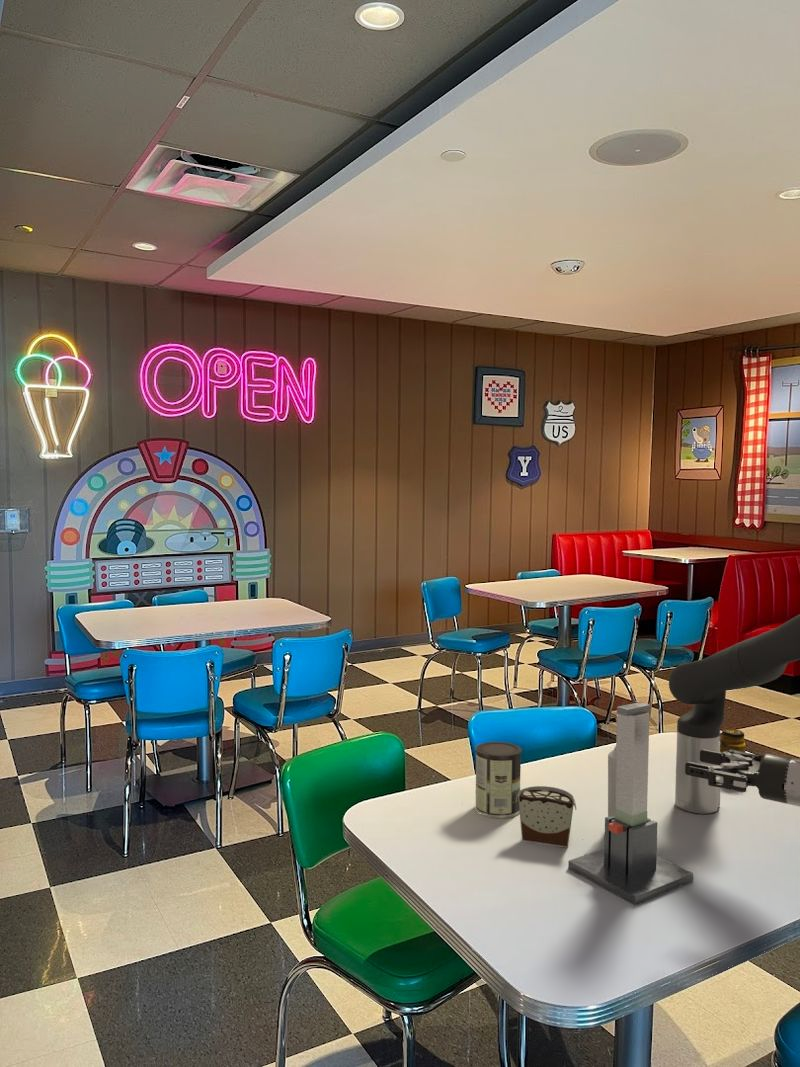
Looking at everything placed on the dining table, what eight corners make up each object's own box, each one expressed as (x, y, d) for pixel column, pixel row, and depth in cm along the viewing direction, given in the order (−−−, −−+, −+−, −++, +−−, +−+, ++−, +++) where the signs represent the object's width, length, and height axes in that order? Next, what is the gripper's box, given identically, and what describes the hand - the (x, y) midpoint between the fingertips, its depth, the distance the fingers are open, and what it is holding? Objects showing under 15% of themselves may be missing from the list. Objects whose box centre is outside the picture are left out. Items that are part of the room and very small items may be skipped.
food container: (579, 836, 166) (579, 789, 165) (575, 849, 160) (576, 800, 159) (520, 828, 170) (521, 782, 169) (514, 839, 164) (515, 792, 163)
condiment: (750, 778, 201) (752, 731, 200) (736, 786, 195) (738, 738, 194) (722, 770, 206) (723, 725, 206) (708, 778, 200) (709, 732, 200)
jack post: (633, 820, 152) (636, 701, 151) (651, 828, 149) (654, 705, 147) (610, 827, 149) (613, 705, 147) (627, 835, 145) (630, 710, 144)
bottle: (632, 838, 165) (635, 719, 164) (607, 836, 166) (609, 718, 165) (630, 828, 170) (633, 713, 169) (605, 825, 171) (608, 711, 170)
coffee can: (503, 798, 186) (504, 738, 186) (529, 814, 177) (530, 751, 176) (466, 805, 182) (466, 744, 181) (490, 822, 172) (491, 758, 172)
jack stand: (625, 848, 160) (626, 797, 160) (693, 881, 147) (694, 825, 146) (568, 868, 151) (569, 814, 151) (635, 904, 138) (636, 845, 137)
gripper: (801, 748, 137) (705, 731, 147) (784, 770, 126) (680, 750, 135) (800, 790, 137) (704, 771, 147) (783, 817, 126) (679, 793, 136)
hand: (693, 761), depth 141 cm, fingers open, 8 cm apart
